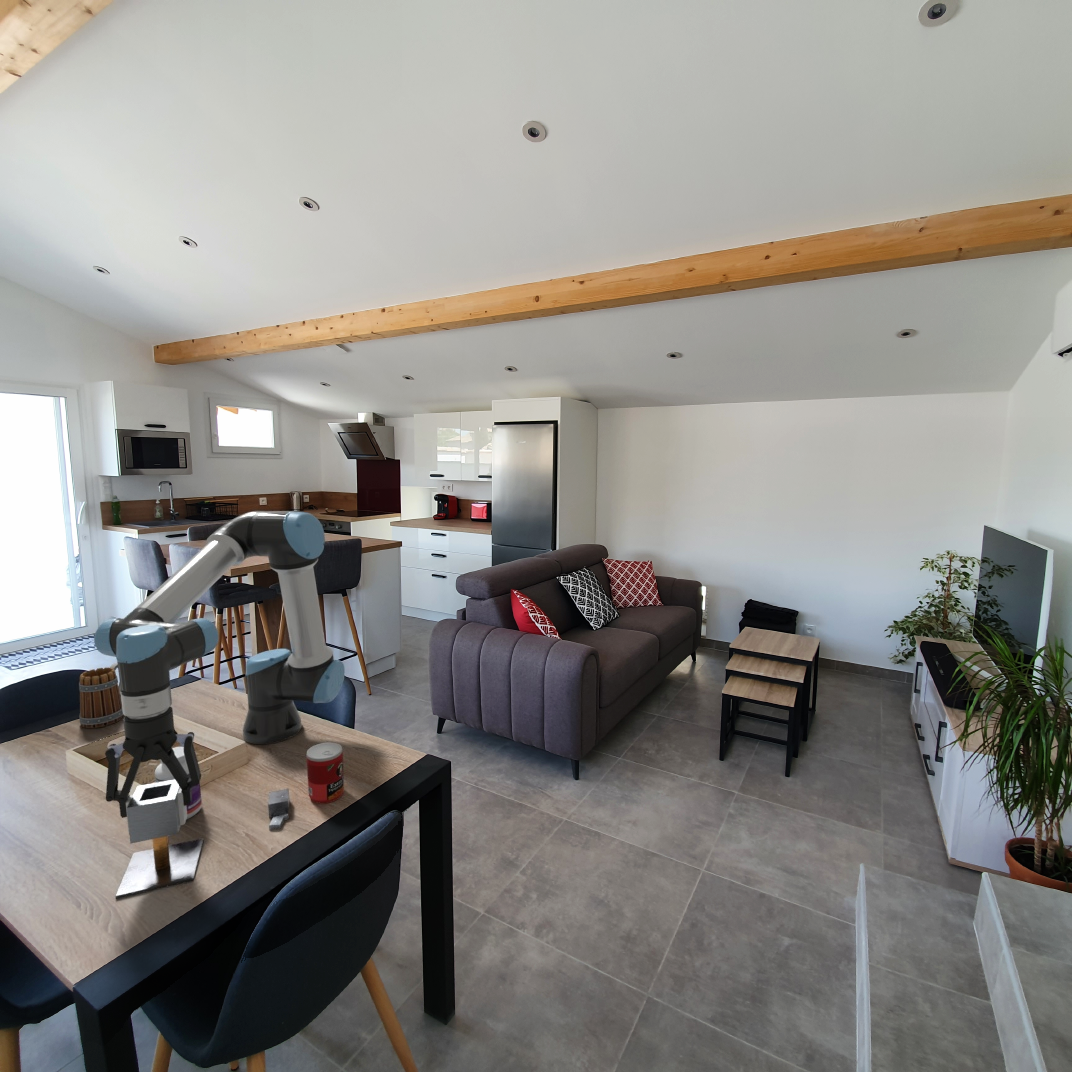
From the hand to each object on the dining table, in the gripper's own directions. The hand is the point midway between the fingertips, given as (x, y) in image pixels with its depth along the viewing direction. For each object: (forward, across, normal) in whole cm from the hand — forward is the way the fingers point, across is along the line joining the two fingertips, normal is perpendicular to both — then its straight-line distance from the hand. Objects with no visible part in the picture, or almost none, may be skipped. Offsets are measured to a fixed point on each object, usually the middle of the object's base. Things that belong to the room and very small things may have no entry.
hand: (158, 825), depth 109 cm
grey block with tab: (+9, +20, +9) cm, 24 cm away
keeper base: (+9, 0, 0) cm, 9 cm away
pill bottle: (+9, 0, +18) cm, 20 cm away
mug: (+9, -29, +80) cm, 86 cm away
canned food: (+9, +30, +14) cm, 34 cm away
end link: (0, 0, 0) cm, 0 cm away
